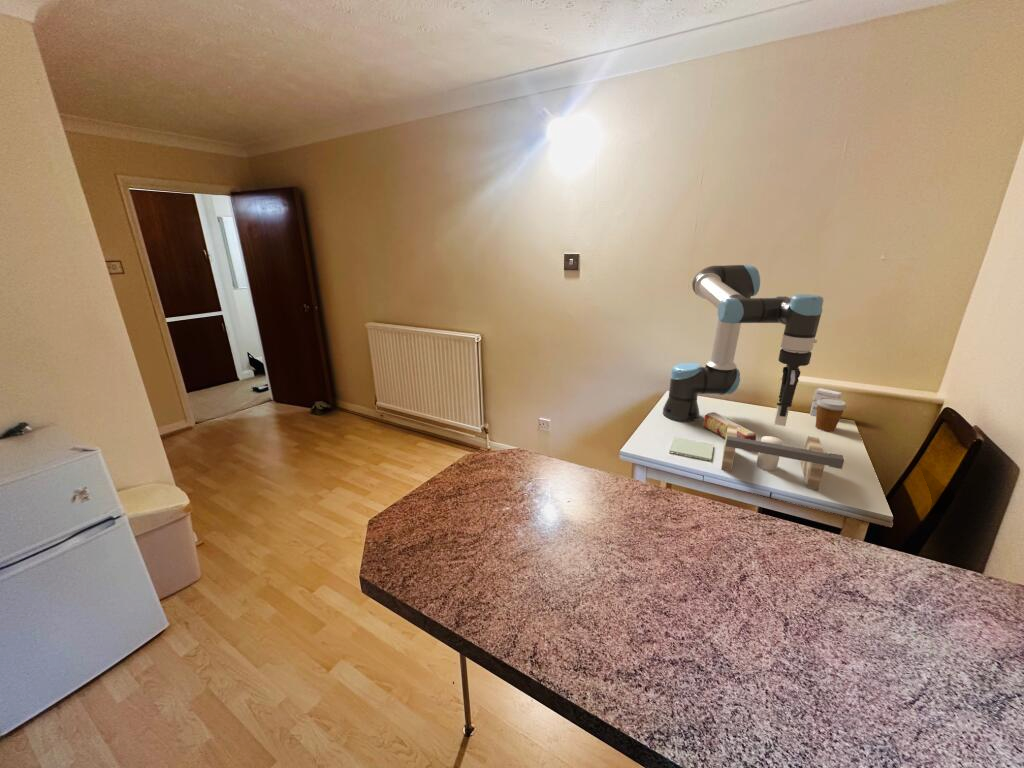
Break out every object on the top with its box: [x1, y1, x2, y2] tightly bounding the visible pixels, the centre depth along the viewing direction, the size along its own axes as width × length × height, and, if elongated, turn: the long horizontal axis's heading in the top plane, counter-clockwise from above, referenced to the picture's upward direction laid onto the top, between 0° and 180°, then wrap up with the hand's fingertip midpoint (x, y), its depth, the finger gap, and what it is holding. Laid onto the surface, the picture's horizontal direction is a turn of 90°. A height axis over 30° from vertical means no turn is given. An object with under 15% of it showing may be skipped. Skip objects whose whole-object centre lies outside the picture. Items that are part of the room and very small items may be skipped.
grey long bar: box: [726, 436, 845, 470], centre depth 123 cm, size 3×30×3 cm, turn 61°
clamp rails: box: [721, 423, 826, 491], centre depth 136 cm, size 16×27×11 cm, turn 61°
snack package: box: [702, 411, 757, 441], centre depth 158 cm, size 21×7×7 cm, turn 17°
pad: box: [669, 436, 715, 462], centre depth 150 cm, size 12×14×1 cm
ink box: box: [809, 387, 843, 417], centre depth 173 cm, size 9×5×12 cm, turn 38°
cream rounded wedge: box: [756, 435, 784, 472], centre depth 136 cm, size 6×6×10 cm
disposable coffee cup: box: [815, 397, 847, 432], centre depth 162 cm, size 10×10×12 cm
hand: (779, 423), depth 123 cm, fingers closed
